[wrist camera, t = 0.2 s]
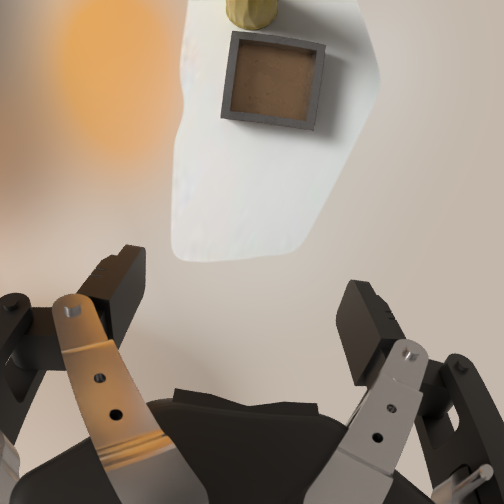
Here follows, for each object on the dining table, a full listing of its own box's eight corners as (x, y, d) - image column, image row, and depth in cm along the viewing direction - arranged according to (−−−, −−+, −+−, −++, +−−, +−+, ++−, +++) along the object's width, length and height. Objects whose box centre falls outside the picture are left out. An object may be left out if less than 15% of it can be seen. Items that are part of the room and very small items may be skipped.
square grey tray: (233, 38, 32) (232, 30, 28) (318, 50, 32) (325, 45, 29) (223, 117, 36) (220, 118, 32) (307, 128, 37) (313, 130, 33)
